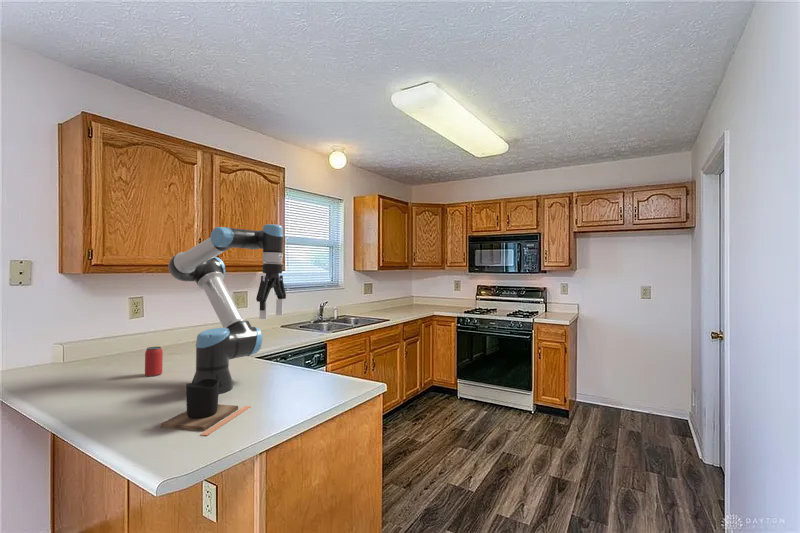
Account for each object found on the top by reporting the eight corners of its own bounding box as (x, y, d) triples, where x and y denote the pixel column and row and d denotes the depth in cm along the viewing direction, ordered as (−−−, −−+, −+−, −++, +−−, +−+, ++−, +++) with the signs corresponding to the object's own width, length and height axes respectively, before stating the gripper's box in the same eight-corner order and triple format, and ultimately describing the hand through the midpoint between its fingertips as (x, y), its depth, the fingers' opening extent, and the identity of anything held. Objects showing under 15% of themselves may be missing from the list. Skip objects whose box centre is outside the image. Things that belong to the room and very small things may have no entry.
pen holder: (215, 418, 122) (216, 385, 122) (182, 420, 120) (182, 388, 120) (220, 407, 131) (221, 377, 131) (189, 410, 129) (189, 379, 129)
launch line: (200, 435, 112) (200, 434, 112) (245, 406, 136) (245, 405, 136) (206, 436, 112) (206, 434, 112) (251, 406, 136) (251, 406, 136)
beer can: (141, 375, 172) (141, 348, 172) (155, 372, 178) (155, 345, 178) (151, 377, 170) (152, 349, 170) (165, 373, 176) (166, 347, 176)
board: (161, 427, 118) (161, 423, 118) (200, 406, 135) (200, 403, 135) (203, 430, 115) (204, 426, 115) (238, 409, 133) (238, 405, 133)
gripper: (266, 263, 143) (265, 321, 143) (294, 264, 168) (293, 313, 168) (247, 262, 144) (246, 320, 144) (278, 263, 169) (277, 313, 169)
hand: (271, 316), depth 156 cm, fingers open, 13 cm apart
